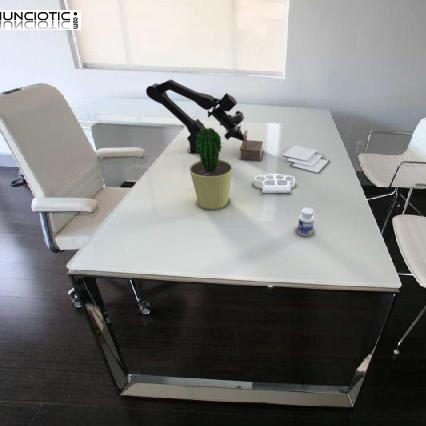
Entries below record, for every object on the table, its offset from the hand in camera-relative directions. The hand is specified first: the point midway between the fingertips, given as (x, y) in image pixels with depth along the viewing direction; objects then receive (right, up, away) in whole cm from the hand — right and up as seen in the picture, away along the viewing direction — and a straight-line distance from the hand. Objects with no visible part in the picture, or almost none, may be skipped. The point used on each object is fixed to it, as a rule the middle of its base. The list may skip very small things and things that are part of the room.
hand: (245, 140), depth 161 cm
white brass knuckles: (+16, -26, -23) cm, 38 cm away
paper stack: (+31, -8, +5) cm, 32 cm away
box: (+3, -7, +4) cm, 8 cm away
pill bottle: (+28, -44, -49) cm, 72 cm away
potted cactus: (-7, -33, -37) cm, 50 cm away
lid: (+3, -3, +2) cm, 4 cm away
